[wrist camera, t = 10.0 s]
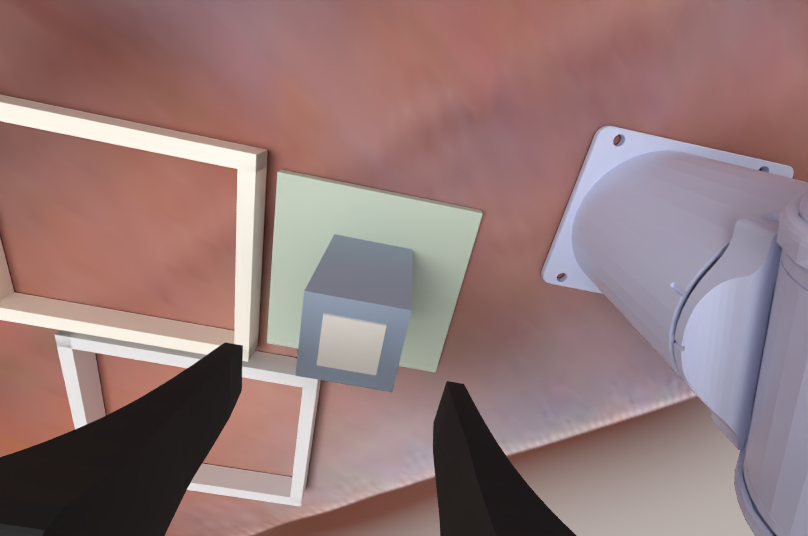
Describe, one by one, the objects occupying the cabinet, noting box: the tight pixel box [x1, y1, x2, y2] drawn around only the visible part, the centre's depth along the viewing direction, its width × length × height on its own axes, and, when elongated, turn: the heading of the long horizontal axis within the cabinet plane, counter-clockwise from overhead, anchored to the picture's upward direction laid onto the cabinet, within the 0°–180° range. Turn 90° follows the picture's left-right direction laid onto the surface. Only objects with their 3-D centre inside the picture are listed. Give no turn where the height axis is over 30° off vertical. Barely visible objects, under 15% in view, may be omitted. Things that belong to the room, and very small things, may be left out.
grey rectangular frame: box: [55, 330, 321, 506], centre depth 25 cm, size 15×12×2 cm
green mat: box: [267, 169, 483, 372], centre depth 21 cm, size 10×10×1 cm
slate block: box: [295, 234, 412, 392], centre depth 18 cm, size 4×4×6 cm
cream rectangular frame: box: [0, 94, 268, 362], centre depth 20 cm, size 15×12×2 cm
